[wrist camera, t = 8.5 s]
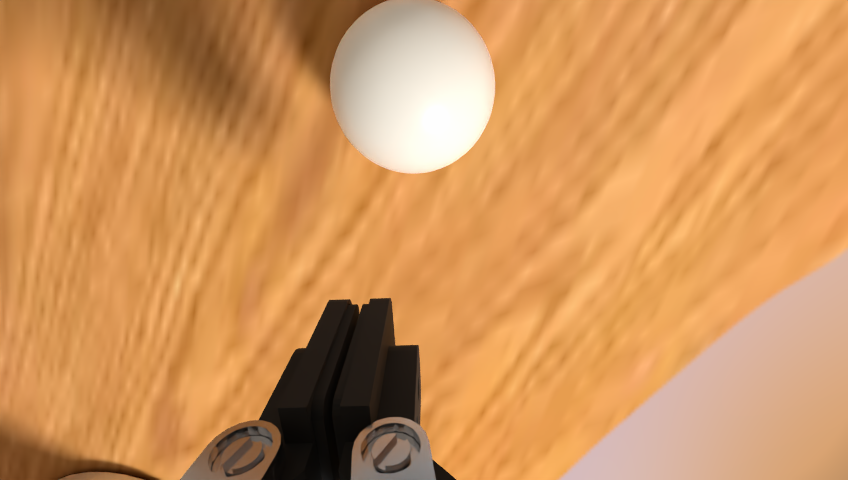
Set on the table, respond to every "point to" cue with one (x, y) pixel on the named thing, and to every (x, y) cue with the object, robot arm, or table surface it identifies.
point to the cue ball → (412, 85)
